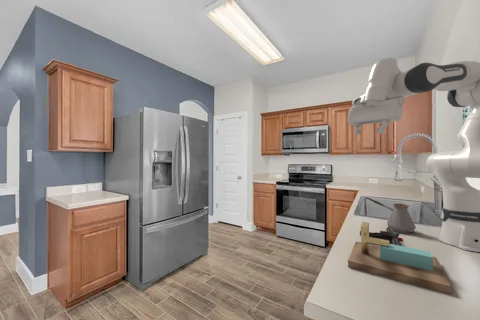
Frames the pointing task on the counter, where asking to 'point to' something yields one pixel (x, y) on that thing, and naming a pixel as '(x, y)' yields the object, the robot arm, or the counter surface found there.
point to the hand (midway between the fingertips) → (368, 133)
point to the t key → (369, 239)
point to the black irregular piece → (387, 236)
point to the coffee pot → (399, 218)
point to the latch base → (398, 269)
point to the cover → (407, 256)
